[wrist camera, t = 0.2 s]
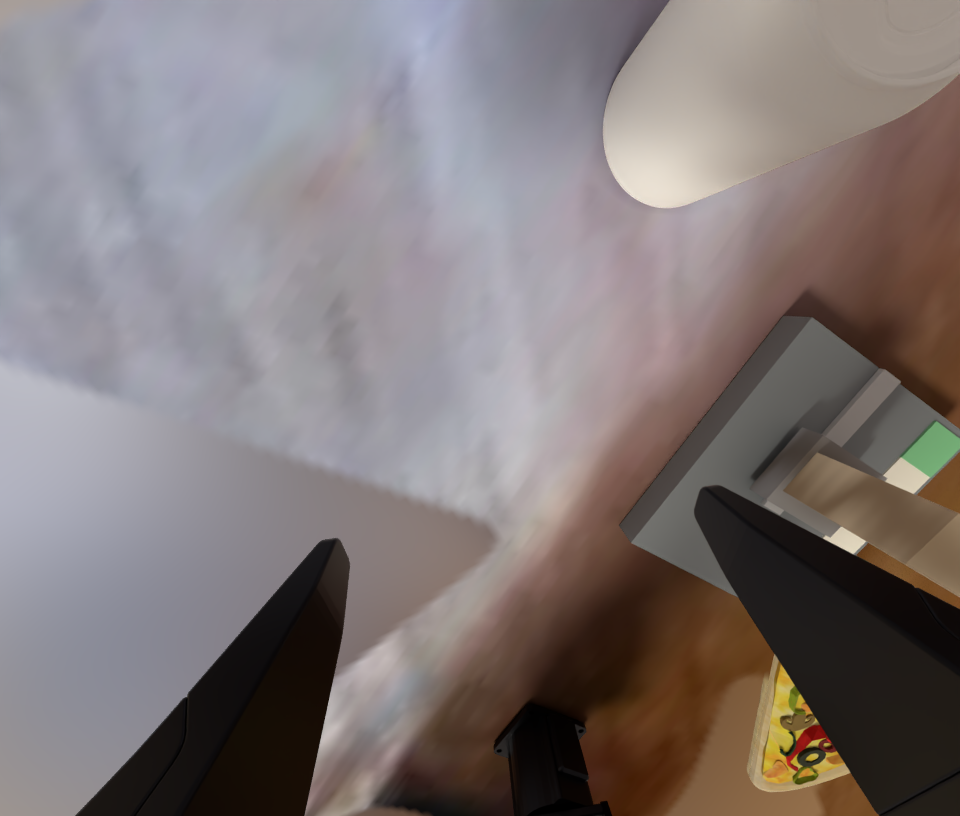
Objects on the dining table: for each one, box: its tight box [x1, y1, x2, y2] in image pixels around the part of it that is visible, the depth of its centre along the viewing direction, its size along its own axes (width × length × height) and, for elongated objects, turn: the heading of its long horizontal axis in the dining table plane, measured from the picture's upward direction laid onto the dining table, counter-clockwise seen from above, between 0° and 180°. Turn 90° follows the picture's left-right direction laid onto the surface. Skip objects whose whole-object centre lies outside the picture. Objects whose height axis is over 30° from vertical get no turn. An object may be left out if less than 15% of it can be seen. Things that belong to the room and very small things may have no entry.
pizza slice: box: [747, 654, 851, 792], centre depth 34 cm, size 16×21×3 cm
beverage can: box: [603, 0, 960, 208], centre depth 14 cm, size 8×8×12 cm
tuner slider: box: [749, 427, 960, 597], centre depth 21 cm, size 5×12×8 cm, turn 60°
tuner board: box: [619, 316, 960, 597], centre depth 26 cm, size 18×16×2 cm
